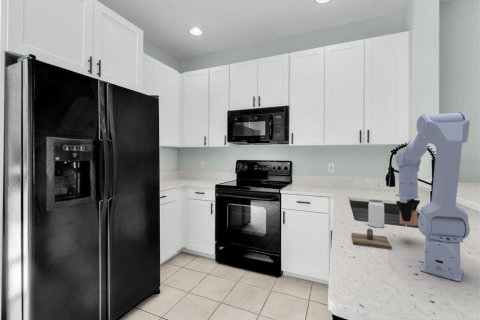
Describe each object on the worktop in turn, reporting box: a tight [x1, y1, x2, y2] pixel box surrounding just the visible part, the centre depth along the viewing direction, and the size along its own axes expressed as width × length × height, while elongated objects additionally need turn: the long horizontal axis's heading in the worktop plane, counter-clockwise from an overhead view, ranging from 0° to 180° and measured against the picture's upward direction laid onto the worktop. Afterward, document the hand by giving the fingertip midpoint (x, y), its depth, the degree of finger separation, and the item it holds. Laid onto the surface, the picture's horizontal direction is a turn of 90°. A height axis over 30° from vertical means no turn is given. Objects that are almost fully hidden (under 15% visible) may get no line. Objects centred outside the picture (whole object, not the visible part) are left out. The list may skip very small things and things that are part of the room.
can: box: [367, 199, 385, 228], centre depth 109 cm, size 6×6×12 cm
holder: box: [351, 228, 393, 250], centre depth 87 cm, size 12×12×5 cm
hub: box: [399, 209, 418, 226], centre depth 86 cm, size 5×5×5 cm
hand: (408, 219), depth 86 cm, fingers closed on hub, 5 cm apart
